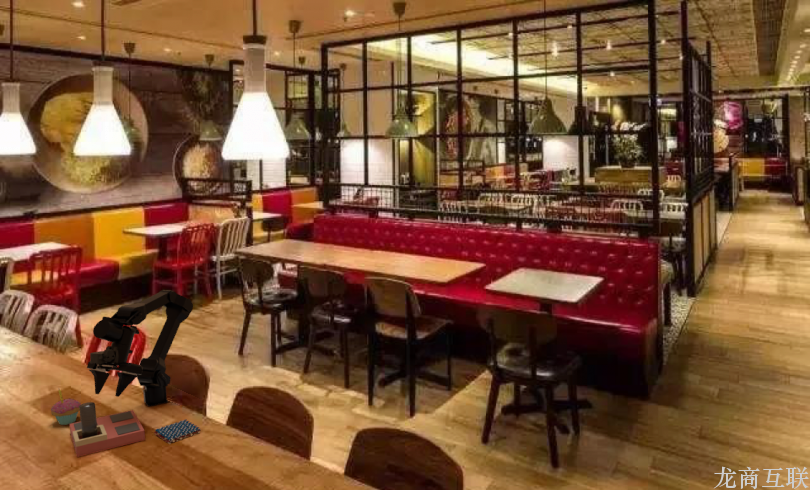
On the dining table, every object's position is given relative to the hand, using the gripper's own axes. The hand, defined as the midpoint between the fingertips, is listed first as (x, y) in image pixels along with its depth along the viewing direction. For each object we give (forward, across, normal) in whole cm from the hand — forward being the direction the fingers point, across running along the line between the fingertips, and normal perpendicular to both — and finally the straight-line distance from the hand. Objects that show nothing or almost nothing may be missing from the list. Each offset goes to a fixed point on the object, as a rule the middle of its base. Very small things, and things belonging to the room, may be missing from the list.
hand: (106, 395), depth 187 cm
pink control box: (+12, +3, +2) cm, 12 cm away
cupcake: (+10, -18, +3) cm, 20 cm away
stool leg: (+15, +5, -4) cm, 16 cm away
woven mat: (+9, +21, +12) cm, 25 cm away
